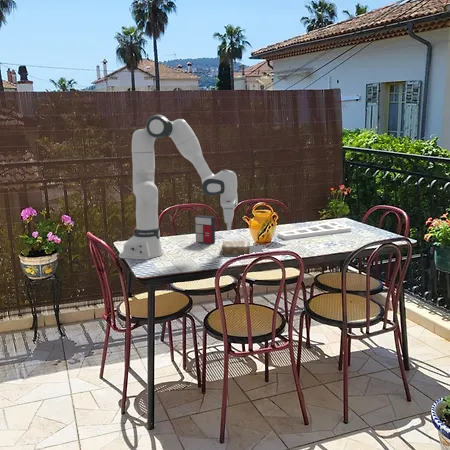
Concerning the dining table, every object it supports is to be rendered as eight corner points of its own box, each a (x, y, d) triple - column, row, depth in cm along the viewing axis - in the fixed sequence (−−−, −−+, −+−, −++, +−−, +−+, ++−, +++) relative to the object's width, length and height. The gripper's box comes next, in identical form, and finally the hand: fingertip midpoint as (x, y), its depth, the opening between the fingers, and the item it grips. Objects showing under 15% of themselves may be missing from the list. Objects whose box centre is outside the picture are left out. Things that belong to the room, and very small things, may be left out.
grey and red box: (195, 242, 267) (194, 216, 263) (199, 240, 270) (198, 215, 267) (212, 244, 262) (211, 217, 258) (215, 242, 265) (215, 216, 262)
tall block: (221, 246, 240) (249, 246, 240) (223, 241, 251) (249, 240, 250) (222, 254, 241) (249, 253, 240) (223, 248, 252) (249, 248, 251)
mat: (224, 256, 238) (224, 256, 238) (226, 247, 255) (226, 246, 255) (266, 256, 237) (266, 255, 237) (265, 246, 254) (265, 246, 254)
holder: (284, 240, 268) (284, 235, 267) (270, 233, 284) (270, 229, 283) (351, 232, 283) (351, 227, 282) (334, 225, 299) (334, 221, 299)
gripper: (224, 198, 251) (224, 223, 254) (221, 205, 231) (222, 232, 234) (236, 198, 251) (236, 223, 254) (234, 205, 231) (235, 232, 234)
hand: (229, 228), depth 244 cm, fingers open, 8 cm apart
